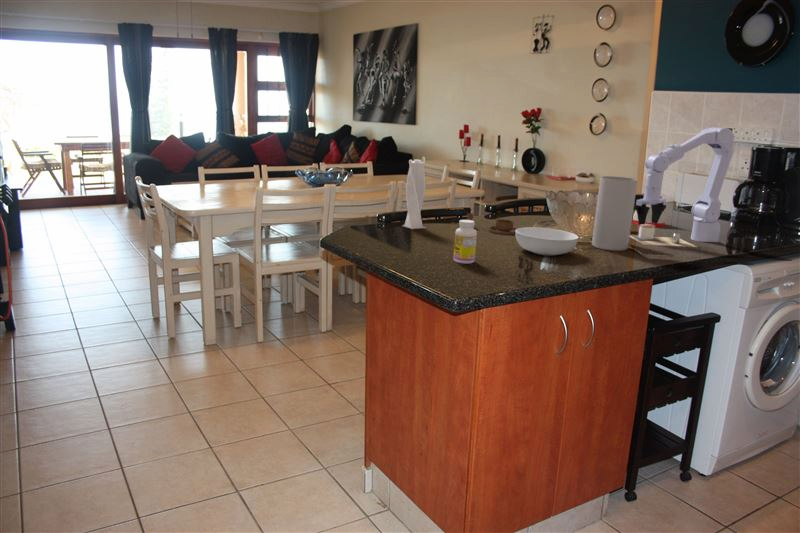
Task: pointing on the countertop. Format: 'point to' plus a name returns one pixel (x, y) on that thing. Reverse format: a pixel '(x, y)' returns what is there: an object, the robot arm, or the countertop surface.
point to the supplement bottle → (465, 242)
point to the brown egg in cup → (646, 231)
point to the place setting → (499, 226)
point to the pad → (645, 239)
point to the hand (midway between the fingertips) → (647, 223)
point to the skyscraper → (415, 193)
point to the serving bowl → (546, 240)
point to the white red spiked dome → (650, 218)
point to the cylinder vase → (614, 213)
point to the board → (665, 242)
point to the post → (676, 238)
